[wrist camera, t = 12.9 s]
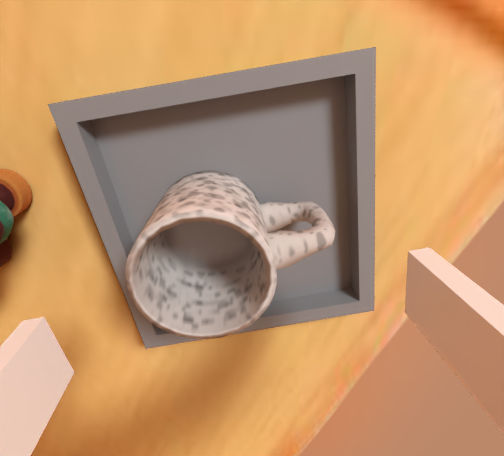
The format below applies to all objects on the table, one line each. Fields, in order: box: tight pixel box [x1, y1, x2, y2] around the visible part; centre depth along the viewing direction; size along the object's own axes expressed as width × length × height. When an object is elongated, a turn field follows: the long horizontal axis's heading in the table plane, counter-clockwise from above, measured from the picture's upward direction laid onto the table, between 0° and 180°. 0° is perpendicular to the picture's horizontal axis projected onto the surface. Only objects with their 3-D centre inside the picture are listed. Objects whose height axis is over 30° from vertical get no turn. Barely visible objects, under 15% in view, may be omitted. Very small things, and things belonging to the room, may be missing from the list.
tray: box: [48, 47, 376, 349], centre depth 20 cm, size 16×16×2 cm
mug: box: [125, 171, 335, 339], centre depth 17 cm, size 10×7×7 cm, turn 102°
